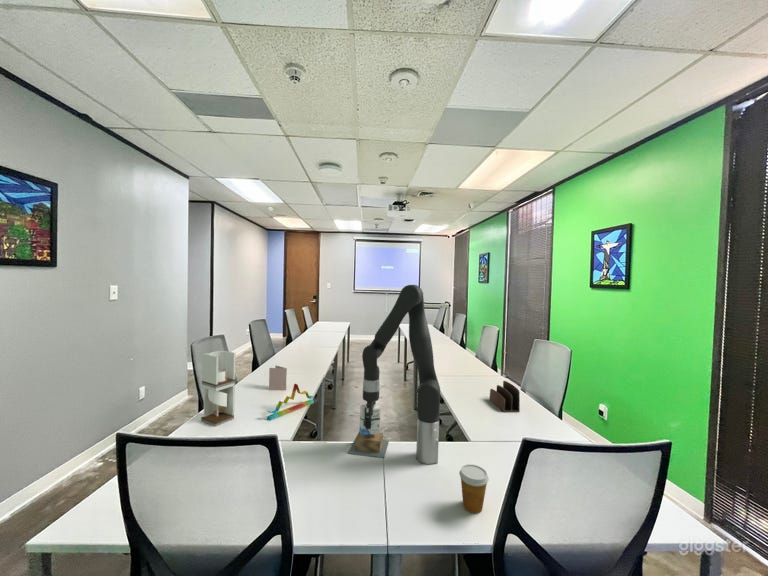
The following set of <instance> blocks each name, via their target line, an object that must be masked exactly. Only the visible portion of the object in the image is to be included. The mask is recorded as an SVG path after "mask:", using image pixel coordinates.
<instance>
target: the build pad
mask: <svg viewBox="0 0 768 576" xmlns="http://www.w3.org/2000/svg"><path fill="white" fill-rule="evenodd" d="M355 440H356V437H355V439H353V442H352V444H351V446H350V447H349V450H348V452H347V454H348V455H349V454H350V455H355V456H363V457H364V456H365V457H370V458H379V459H385V457H386V456H385V455H386V454H387V449H388V447H389V442H390V441H389V440H384V439H383V444H382V447H381V450H380V453H377V452H369V451H361V450H355Z"/></svg>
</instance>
